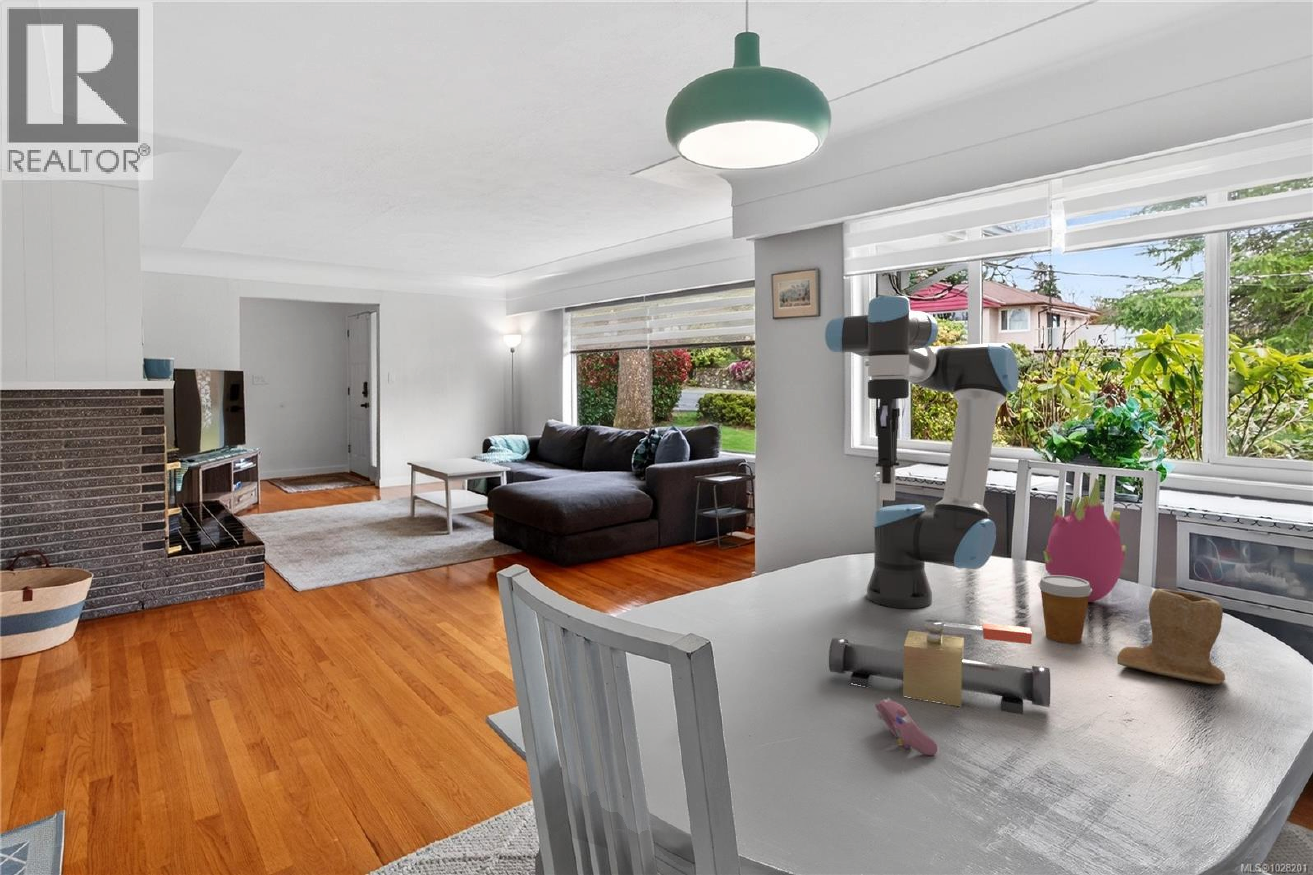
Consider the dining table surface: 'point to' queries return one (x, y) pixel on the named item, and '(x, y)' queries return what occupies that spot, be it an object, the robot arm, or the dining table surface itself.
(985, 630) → the lever
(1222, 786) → the dining table surface
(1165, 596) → the tan flared piece
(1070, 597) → the disposable coffee cup
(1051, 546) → the pink dragon fruit
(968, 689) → the valve pipe
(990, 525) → the robot arm
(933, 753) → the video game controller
